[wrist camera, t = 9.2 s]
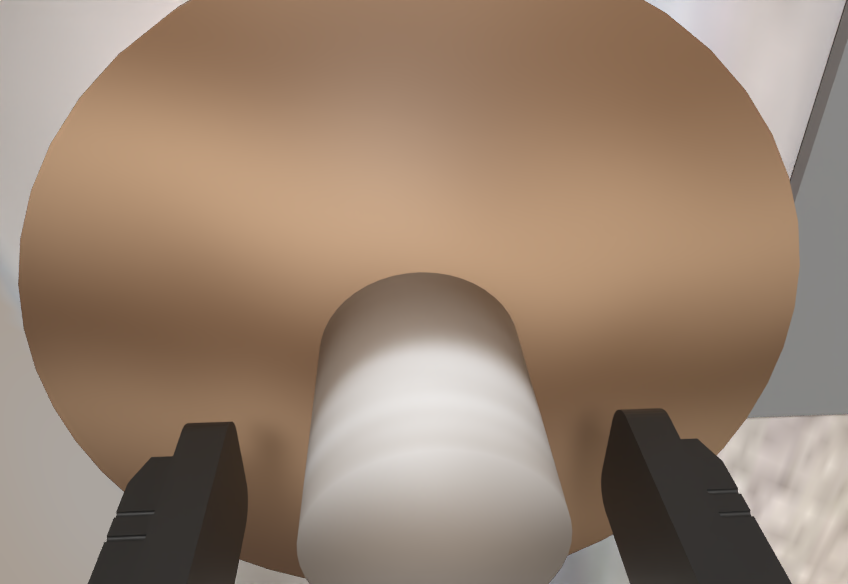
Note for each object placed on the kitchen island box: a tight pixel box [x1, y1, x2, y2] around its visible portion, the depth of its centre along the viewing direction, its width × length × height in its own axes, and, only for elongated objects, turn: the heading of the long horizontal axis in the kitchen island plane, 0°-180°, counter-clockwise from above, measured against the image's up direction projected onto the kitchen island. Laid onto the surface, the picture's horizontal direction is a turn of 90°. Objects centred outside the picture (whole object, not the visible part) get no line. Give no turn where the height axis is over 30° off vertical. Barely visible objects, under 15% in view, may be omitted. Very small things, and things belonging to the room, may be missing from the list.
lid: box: [18, 0, 800, 584], centre depth 12 cm, size 15×15×5 cm
